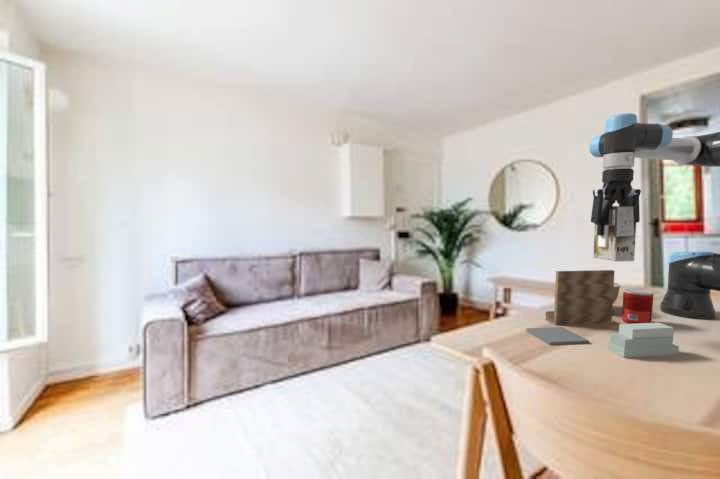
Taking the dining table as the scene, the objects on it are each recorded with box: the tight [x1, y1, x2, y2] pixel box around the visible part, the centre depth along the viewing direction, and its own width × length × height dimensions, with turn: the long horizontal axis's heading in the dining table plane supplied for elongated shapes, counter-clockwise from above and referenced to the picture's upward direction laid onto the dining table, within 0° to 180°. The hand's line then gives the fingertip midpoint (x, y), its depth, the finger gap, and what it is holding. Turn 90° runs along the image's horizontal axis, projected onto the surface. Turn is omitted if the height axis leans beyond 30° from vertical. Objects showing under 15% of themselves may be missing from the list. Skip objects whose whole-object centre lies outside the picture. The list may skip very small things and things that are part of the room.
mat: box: [525, 326, 590, 346], centre depth 108 cm, size 12×12×1 cm
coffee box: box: [593, 205, 637, 262], centre depth 107 cm, size 9×6×16 cm
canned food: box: [621, 288, 654, 324], centre depth 121 cm, size 8×8×11 cm
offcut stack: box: [607, 322, 680, 359], centre depth 96 cm, size 16×5×8 cm, turn 97°
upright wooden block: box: [545, 269, 615, 326], centre depth 122 cm, size 20×6×18 cm, turn 96°
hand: (613, 246), depth 108 cm, fingers closed on coffee box, 6 cm apart
